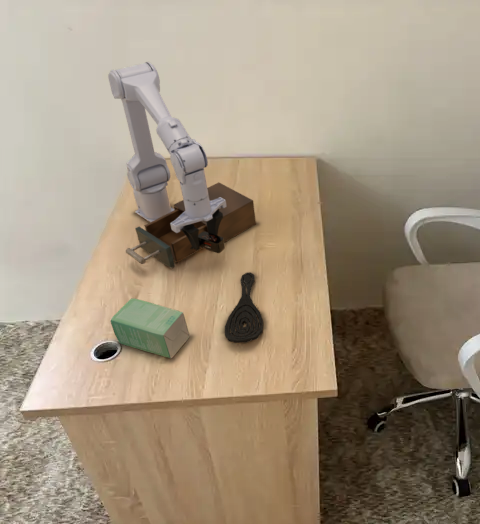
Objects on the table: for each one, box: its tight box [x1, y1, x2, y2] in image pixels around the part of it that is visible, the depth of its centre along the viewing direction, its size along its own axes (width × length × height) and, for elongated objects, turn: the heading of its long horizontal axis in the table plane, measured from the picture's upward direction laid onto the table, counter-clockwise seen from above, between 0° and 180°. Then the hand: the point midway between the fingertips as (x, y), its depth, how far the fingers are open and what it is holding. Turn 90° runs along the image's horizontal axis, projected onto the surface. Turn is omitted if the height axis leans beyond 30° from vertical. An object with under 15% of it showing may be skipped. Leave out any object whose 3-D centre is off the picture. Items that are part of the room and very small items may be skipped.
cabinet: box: [173, 181, 257, 243], centre depth 154 cm, size 15×14×8 cm
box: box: [110, 297, 190, 359], centre depth 121 cm, size 7×14×8 cm, turn 70°
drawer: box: [125, 209, 207, 269], centre depth 145 cm, size 20×13×6 cm, turn 139°
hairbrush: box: [224, 271, 264, 344], centre depth 130 cm, size 8×4×25 cm
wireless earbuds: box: [190, 232, 226, 254], centre depth 139 cm, size 5×7×3 cm, turn 63°
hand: (204, 242), depth 139 cm, fingers closed on wireless earbuds, 5 cm apart
